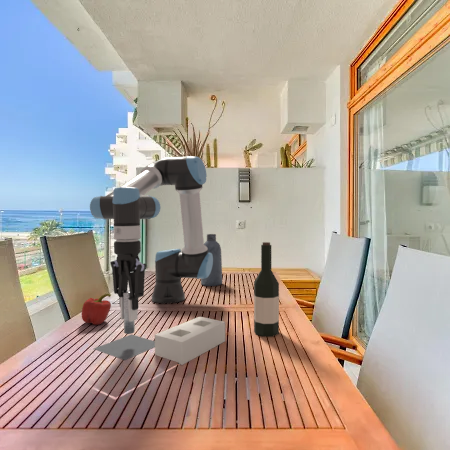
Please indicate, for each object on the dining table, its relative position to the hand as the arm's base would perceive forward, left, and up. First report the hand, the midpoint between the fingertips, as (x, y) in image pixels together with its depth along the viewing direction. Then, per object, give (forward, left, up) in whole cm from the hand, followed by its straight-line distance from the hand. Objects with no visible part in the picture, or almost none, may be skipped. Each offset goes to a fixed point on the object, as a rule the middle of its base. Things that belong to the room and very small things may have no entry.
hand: (129, 318), depth 100 cm
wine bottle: (+28, +33, -9) cm, 45 cm away
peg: (0, 0, -4) cm, 4 cm away
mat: (0, -1, -8) cm, 8 cm away
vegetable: (-28, +9, -9) cm, 30 cm away
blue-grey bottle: (-34, +86, -9) cm, 93 cm away
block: (+16, +9, -8) cm, 21 cm away
